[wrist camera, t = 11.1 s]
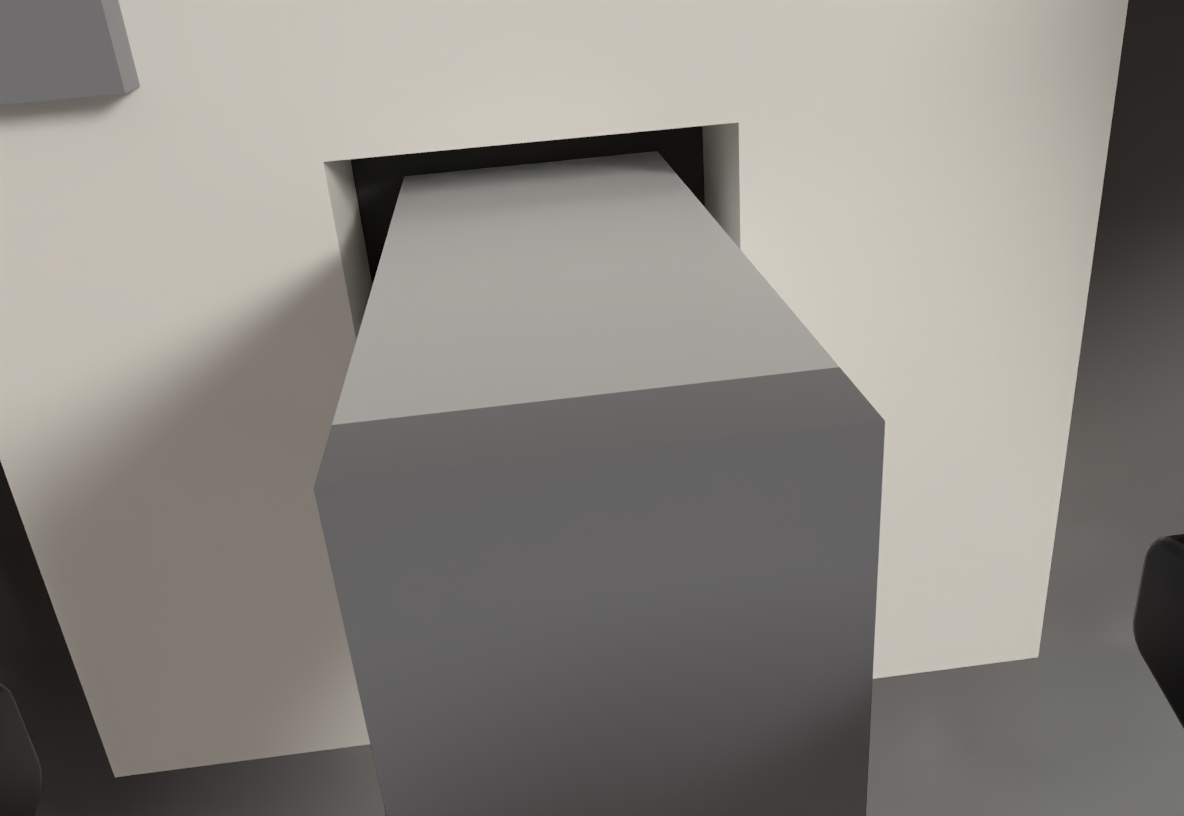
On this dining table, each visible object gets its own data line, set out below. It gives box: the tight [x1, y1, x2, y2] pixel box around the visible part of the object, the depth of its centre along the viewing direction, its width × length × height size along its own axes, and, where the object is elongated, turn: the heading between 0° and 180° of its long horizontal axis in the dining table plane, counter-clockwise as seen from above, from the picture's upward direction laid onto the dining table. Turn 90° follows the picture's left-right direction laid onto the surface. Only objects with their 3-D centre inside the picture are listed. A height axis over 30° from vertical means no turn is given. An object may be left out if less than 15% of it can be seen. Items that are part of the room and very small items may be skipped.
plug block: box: [313, 151, 885, 816], centre depth 12 cm, size 4×4×10 cm
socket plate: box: [0, 0, 1128, 777], centre depth 16 cm, size 14×16×3 cm
